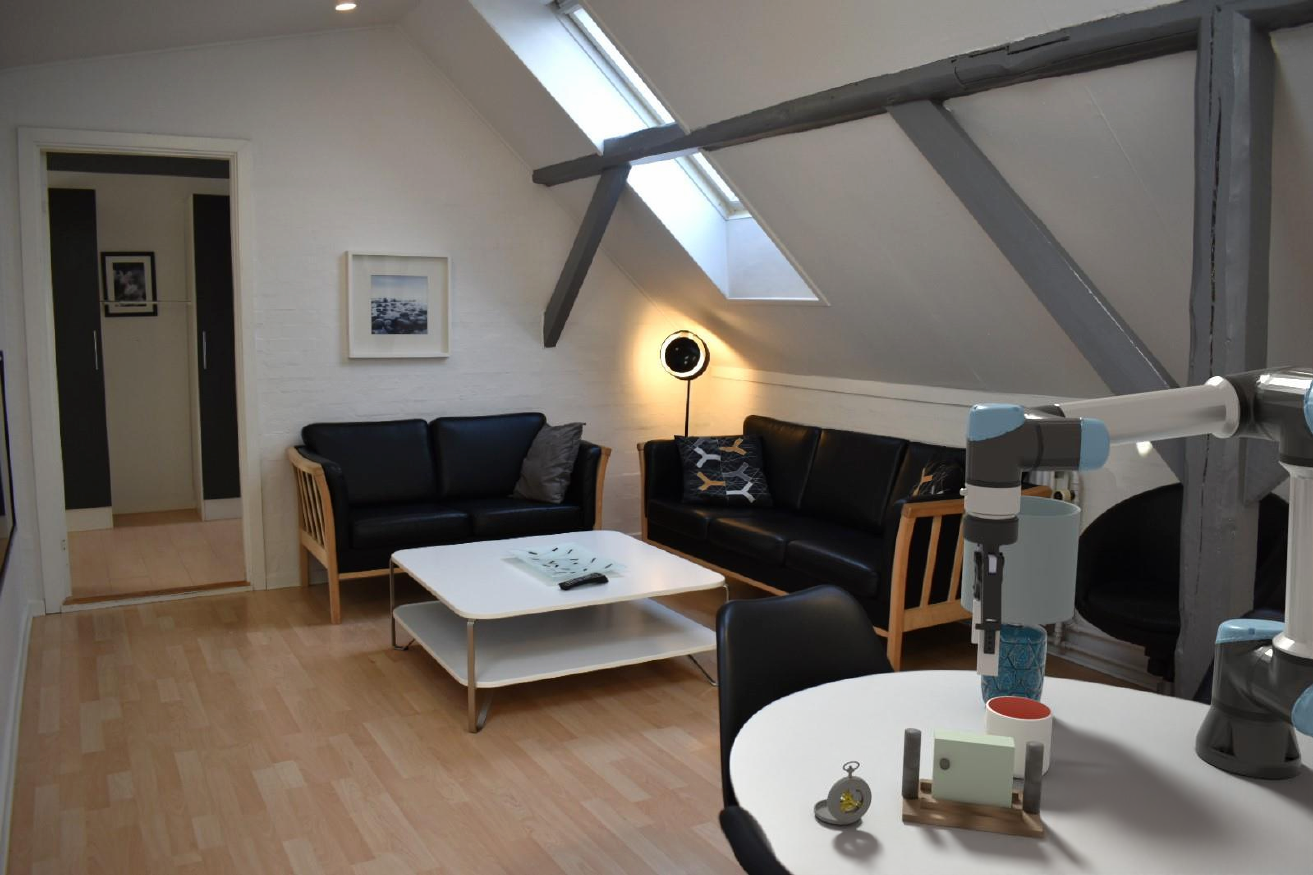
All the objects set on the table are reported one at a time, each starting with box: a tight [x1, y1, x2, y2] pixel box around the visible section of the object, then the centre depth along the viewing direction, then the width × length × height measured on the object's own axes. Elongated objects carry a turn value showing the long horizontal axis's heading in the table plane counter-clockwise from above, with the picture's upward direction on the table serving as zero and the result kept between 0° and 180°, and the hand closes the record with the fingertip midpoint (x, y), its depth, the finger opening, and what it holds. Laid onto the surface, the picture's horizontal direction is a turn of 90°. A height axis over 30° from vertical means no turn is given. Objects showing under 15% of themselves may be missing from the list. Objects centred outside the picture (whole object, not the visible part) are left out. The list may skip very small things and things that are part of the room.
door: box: [931, 728, 1015, 808], centre depth 154 cm, size 11×4×10 cm, turn 76°
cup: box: [983, 696, 1054, 780], centre depth 169 cm, size 10×10×10 cm
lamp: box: [960, 494, 1082, 705], centre depth 192 cm, size 19×19×38 cm
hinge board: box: [901, 727, 1044, 839], centre depth 155 cm, size 19×12×11 cm, turn 76°
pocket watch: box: [813, 760, 873, 826], centre depth 151 cm, size 8×8×10 cm
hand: (983, 658), depth 153 cm, fingers open, 13 cm apart
